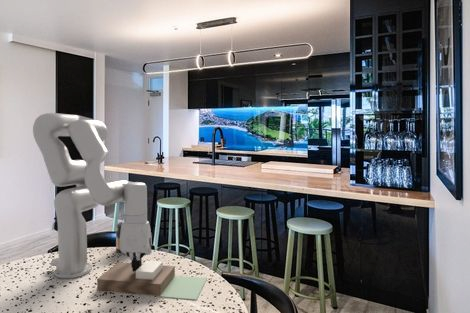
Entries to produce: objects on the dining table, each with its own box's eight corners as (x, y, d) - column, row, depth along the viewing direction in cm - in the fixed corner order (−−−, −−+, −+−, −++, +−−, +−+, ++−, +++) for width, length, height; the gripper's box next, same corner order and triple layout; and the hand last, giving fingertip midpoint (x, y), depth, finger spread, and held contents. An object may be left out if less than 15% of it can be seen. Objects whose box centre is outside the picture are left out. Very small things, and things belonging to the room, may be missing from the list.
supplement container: (110, 252, 139) (110, 225, 138) (125, 244, 149) (125, 219, 148) (131, 255, 136) (131, 228, 135) (145, 247, 146) (145, 221, 145)
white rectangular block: (135, 278, 106) (135, 271, 105) (146, 267, 114) (146, 260, 114) (152, 279, 105) (152, 272, 105) (162, 268, 114) (162, 261, 113)
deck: (97, 290, 105) (97, 279, 105) (118, 272, 119) (118, 262, 118) (160, 296, 102) (160, 284, 102) (174, 277, 116) (174, 266, 115)
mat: (160, 297, 101) (160, 296, 101) (175, 276, 116) (175, 275, 116) (196, 300, 100) (196, 299, 100) (206, 278, 115) (206, 278, 115)
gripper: (109, 220, 106) (110, 273, 107) (152, 222, 104) (152, 276, 105) (121, 214, 114) (121, 264, 115) (160, 216, 111) (161, 267, 113)
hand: (136, 269), depth 110 cm, fingers closed
